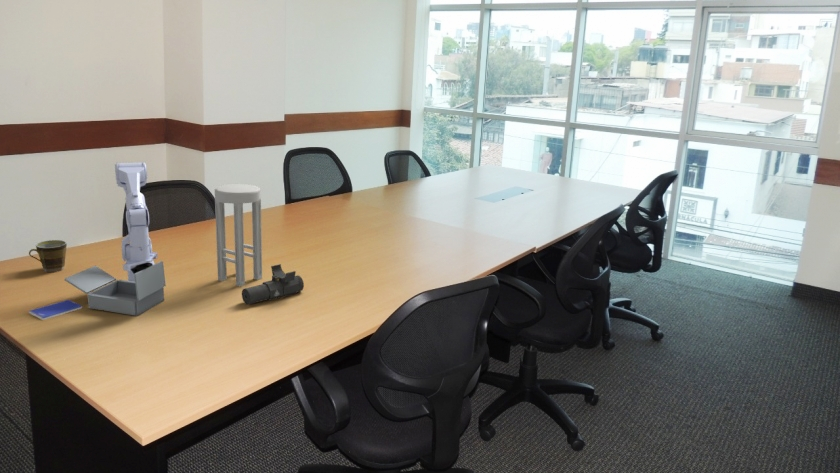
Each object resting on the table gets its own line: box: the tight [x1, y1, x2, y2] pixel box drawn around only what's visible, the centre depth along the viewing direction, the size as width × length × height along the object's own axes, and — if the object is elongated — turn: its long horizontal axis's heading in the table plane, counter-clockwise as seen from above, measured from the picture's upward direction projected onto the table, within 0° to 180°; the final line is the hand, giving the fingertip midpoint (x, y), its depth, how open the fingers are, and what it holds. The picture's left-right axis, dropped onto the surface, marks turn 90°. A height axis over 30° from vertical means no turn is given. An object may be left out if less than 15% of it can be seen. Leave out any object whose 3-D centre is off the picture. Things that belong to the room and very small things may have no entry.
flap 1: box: [64, 265, 117, 295], centre depth 216 cm, size 14×9×1 cm, turn 166°
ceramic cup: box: [28, 239, 67, 273], centre depth 240 cm, size 13×10×10 cm
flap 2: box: [134, 260, 167, 300], centre depth 210 cm, size 14×9×1 cm
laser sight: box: [241, 264, 305, 305], centre depth 226 cm, size 10×22×10 cm, turn 135°
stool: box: [214, 183, 263, 287], centre depth 238 cm, size 16×16×35 cm
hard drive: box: [28, 299, 83, 321], centre depth 207 cm, size 2×8×12 cm
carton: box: [87, 279, 165, 317], centre depth 214 cm, size 15×18×5 cm
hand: (142, 285), depth 211 cm, fingers closed, pressing on flap 2
